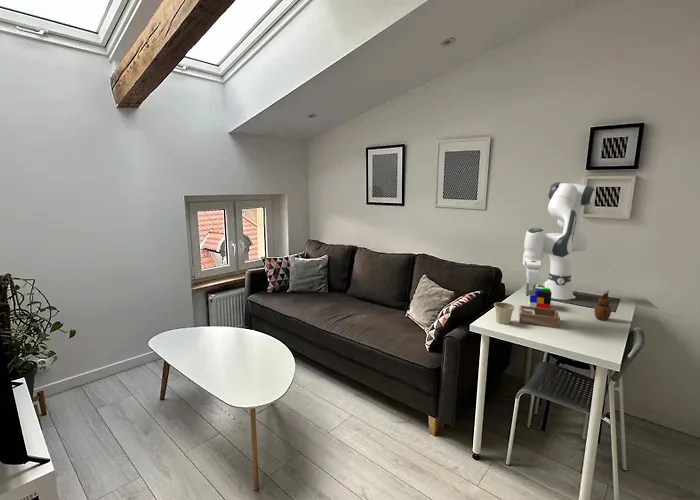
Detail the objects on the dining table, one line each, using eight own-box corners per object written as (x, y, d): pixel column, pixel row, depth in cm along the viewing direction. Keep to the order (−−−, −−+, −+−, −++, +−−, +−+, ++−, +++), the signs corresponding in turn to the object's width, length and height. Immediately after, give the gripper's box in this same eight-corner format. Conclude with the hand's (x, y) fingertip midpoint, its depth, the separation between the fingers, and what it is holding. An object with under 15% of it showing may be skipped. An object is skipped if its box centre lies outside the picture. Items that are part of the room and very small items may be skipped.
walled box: (518, 314, 190) (519, 305, 189) (555, 319, 183) (556, 309, 182) (519, 322, 178) (520, 313, 177) (558, 328, 171) (560, 318, 170)
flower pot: (504, 326, 173) (505, 309, 171) (488, 320, 181) (489, 304, 180) (517, 323, 177) (519, 306, 176) (501, 317, 185) (503, 301, 184)
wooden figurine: (605, 317, 186) (609, 289, 184) (612, 321, 181) (616, 292, 178) (591, 316, 187) (594, 288, 184) (597, 320, 181) (601, 292, 179)
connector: (525, 292, 182) (526, 279, 181) (534, 293, 181) (535, 279, 180) (526, 294, 179) (526, 281, 177) (535, 295, 177) (535, 281, 176)
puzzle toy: (529, 308, 200) (531, 290, 198) (528, 302, 209) (529, 286, 207) (549, 310, 196) (551, 292, 195) (547, 304, 206) (549, 287, 204)
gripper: (524, 257, 188) (522, 283, 190) (526, 264, 169) (524, 293, 171) (538, 258, 185) (535, 284, 187) (541, 266, 167) (538, 294, 169)
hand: (530, 288), depth 179 cm, fingers closed on connector, 4 cm apart
